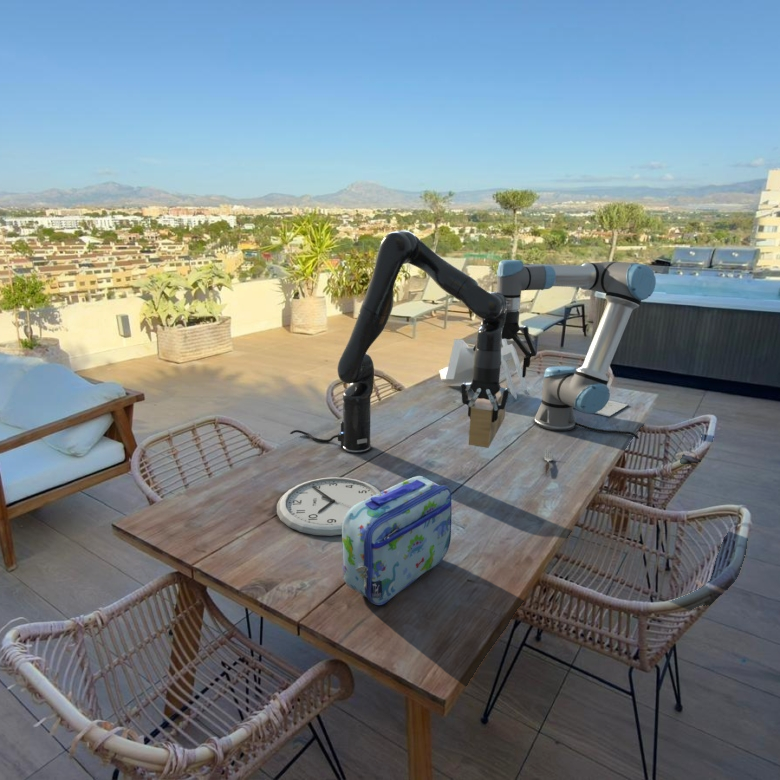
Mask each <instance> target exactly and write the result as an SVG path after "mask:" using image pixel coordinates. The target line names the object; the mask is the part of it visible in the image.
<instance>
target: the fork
mask: <svg viewBox="0 0 780 780" xmlns="http://www.w3.org/2000/svg"><path fill="white" fill-rule="evenodd" d="M547 450H548V449H546V451H545V455H544V461H546V463H545V468H544V469H545V474H547V473H548V471H549V469H550V462H553V460H554V452H552V451H550V450H548V451H547ZM549 451H550V452H549Z"/></svg>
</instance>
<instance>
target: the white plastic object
mask: <svg viewBox="0 0 780 780" xmlns="http://www.w3.org/2000/svg"><path fill="white" fill-rule="evenodd" d="M501 346H502V347H501V366H502V370H503V373H504V376H505V380H506V383H507V384H506V385H507V388H509V389H510V391H509V393H510V394H511V395H512V397H513V398H514V399H515V400H517V392H516V391H517V390H516V388H515V385H514V381H513V378H512V375H511V371H510V369H509V365H508V361H510V360H513V363H514V366H515V369H516V372H517V376H518V380H519V382H520V385H521V389H522V391H523V393H524V395H525V396H526V397H528V396H531V395H530V390H529V388H528V387H529V386H528V384H527V381H526V377H522V374H523V367H522V366H521V362H520V359H519V355H518V352H517V349H516V347H515V346H514V345H513V343H511V344H508V341H507V339H502V344H501ZM474 347H475V345H473V346H469V345H468V343H466V342H465V340H464V339H463V338H460V339H458V338H454V340H453V344H452V349H451V353H450V357H449V362H448V366H446V367H444V368H442V369H440V370H439V371H438V372H439V376H440V381H442V383H443V384H444V385H445V386H449V385H458V384H463V383H464V382H466V383H472V380H473V366H474V355H475V351H474V350H473V348H474Z"/></svg>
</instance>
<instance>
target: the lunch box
mask: <svg viewBox="0 0 780 780" xmlns="http://www.w3.org/2000/svg"><path fill="white" fill-rule="evenodd" d="M452 511H453V510H452V491H451V489H450V487H449V486H447V485H444V484H442V485H440V484H437V483H436V482H434V481H432V480H430V479H428V478H427V477H425V476H422V475H416V476H413V477H411V478H408V479H406V480H403V481H401V482H399V483H397V484H395V485H393V486H390V487H388V488H386V489H384V490H382V491H381V492H380V493H378V494H376V495H374V496H372V497H370V498H368V499H366V500H364V501H362V502H360V503H358V504H356V505H354V506H353V507H352V508H351V509H350V510H349V511H348V512H347V514H346V516H345V518H344V521H343V525H342V535H341V543H342V544H341V545H342V569H343V578H344V583H345V585H346V586H347V587H349V588H351V589H352V590H354V591H356V592H357V593H360V594H361V595H362V596H363V597H365V598H367V601H369V603H372V604H373V605H376V606H383V605H385V604H386V603H388V602H389V601H390V600H391V599H392V598H394V597H395V596H396V595H397V594H399V593H400V592H401V591H403V590H404V589H406V588H407V587H408V586H410V585H411V584H413V583H414V582H416V580H417V579H418V578H420V576H422V575H423V574H425V573H426V572H428V571H430V570H432V569H433V568H435V567H436V566H438V565H439V564H440V563H441V562H442V561H443V560H444V558H445V557H446V555H447V552H448V551H449V548H450V544H451V539H452V515H453V514H452Z"/></svg>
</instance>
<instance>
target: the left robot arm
mask: <svg viewBox="0 0 780 780" xmlns="http://www.w3.org/2000/svg"><path fill="white" fill-rule="evenodd" d="M405 264H409V265H412V266H414V267H416V268H419V269H420V270H421V271H423V272H424V273H425V274H427V275H428V276H429V277H430V278H431V279H432V280H433V281H434V282H435V284H436V285H437V286H438V287H439V288H440V289H442V291H444V292H445V293H447V294H448V295H450V296H452V297H453V298H455V300H458V301H459V302H462V304H463V305H464V306H465V307H467V308H468V310H470V312H472V313H473V314H474V315H476V316H477V317H478V318H480V319H481V322H480V327H478V329H477V333H476V338H475V345H476V350H475V355H474V366H473V380H472V382H468V383H466V382H464V383H461V385H460V390H461V401H462V404H463V405H466V406H467V408H468V409H467V417H468V418H470V417H471V407H472V406H473V405H474V403H475V402H476V401H477V399H478V398H479V399H483V398H484V399H487V400H490V402H491V404H492V406H493V414H492V422H495V421H496V420H497V419H498V411H499V410H500V409H502V410H503V409H504V408H505V409H506V406H507V401H508V398H509V394H510V389H509V387H507V388H502V387H500V385H501V384H500V376H501V375H500V374H501V366H502V363H501V348H502V331H503V327H504V323H505V318H506V313H507V301H506V299H505V297H504V296H503V295H502V294H501V293H498V292H497V291H492V292H489V291H487V290H486V289H484V288H483V287H481V286H480V285H479V282H478V281H477V280H476V279H474V278H473V277H471V276H470V275H468V274H467V273H465V272H464V271H462V270H460V269H458V268H457V267H455V266H454V265H452V264H451V263H449V262H448V261H447V260H445V259H443V258H442V256H440V255H438V254H437V253H436V252H435V251H433V250H432V249H431V248H430V247H429V246H428V245H426V244H425V243H424V242H423V241H422V240H421V239H420V238H418V236H416V235H415V234H414V233H413V232H411V231H408V230H398V231H392V232H389V233H387V234H386V235H385V236H384V237H383V238H382V240H381V242H380V244H379V247H378V252H377V256H376V261H375V264H374V269H373V271H372V272H373V273H372V275H371V279H370V282H369V284H368V287H367V290H366V291H365V292H366V293H365V295H364V298H363V300H362V303H361V306H360V308H359V311H358V315H357V318H356V321H355V323H354V326H353V329H352V331H351V334H350V337H349V339H348V342H347V343H346V346H345V348H344V350H343V352H342V353H341V356H340V358H339V361H338V364H337V375H338V377H339V379H340V381H341V382H342V383H344V384H347V385H348V387H347V388H346V389H345V390H344V391H343V392H342V421H340V432H339V433H337V434H334V435H332V436H331V437H330V438H328V439H322V438H317V437H314V436H313V435H312V434H311V433H309V432H306V431H303V430H299V429H294V430H292V431H290V432H289V435H293V434H295V433H299V434H302V435H305V436H308V437H309V439H311V440H313V441H316V442H321V443H330V442H332V441H333V440H334V439H336V438H337V441H338V442H340V448H341V449H343V451H345V452H347V453H351V454H362V453H365V452H368V451H370V450H371V399H372V398H371V397H372V395H373V391H374V381H375V380H374V379H375V366H374V365H375V364H374V361H373V359H372V357H371V356H370V355H369V354H368V353H367V352H368V350H369V349H370V347H371V346H372V344H373V343H374V342H375V341H376V340H377V339H378V338H379V336H380V335H381V334H382V332H384V330H385V328H386V326H387V324H388V321H389V320H390V316H391V314H392V311H393V307H394V289H395V288H394V287H395V284H396V280H397V278H398V276H399V274H400V271H401V269H402V267H403V265H405ZM470 389H471V390H472V392H473V393H474V394H473V396H471V398H469V392H468V391H469V390H470ZM498 391H500V392H501V395H502V396H503V398H502V401H501V404H498V401H497V397H496V394H497V393H498Z"/></svg>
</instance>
